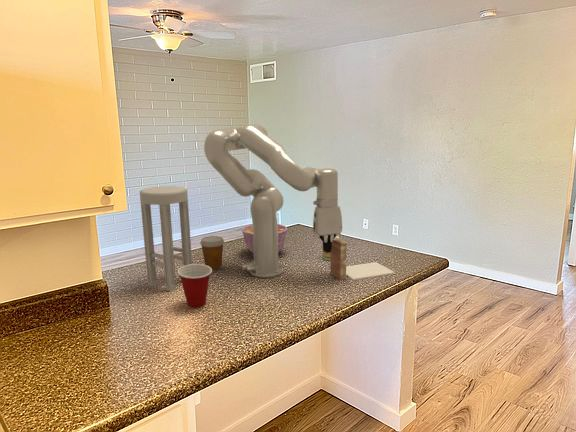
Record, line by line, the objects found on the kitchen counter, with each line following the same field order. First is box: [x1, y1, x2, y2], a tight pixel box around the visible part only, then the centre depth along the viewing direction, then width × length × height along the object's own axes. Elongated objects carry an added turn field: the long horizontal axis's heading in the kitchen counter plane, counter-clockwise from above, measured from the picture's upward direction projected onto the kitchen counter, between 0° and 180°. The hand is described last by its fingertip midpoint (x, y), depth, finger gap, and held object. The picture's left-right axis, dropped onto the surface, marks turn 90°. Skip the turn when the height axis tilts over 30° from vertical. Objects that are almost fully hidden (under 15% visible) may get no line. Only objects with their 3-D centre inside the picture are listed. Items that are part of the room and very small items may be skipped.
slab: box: [329, 237, 348, 281], centre depth 160 cm, size 2×8×14 cm, turn 21°
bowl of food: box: [241, 223, 288, 254], centre depth 188 cm, size 20×20×12 cm
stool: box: [139, 185, 193, 292], centre depth 152 cm, size 16×16×35 cm
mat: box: [346, 261, 396, 281], centre depth 165 cm, size 18×13×1 cm
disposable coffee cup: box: [199, 235, 225, 271], centre depth 171 cm, size 10×10×12 cm
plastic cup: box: [177, 263, 213, 308], centre depth 137 cm, size 11×11×12 cm
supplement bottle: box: [321, 235, 340, 261], centre depth 181 cm, size 7×7×13 cm
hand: (327, 251), depth 157 cm, fingers closed
